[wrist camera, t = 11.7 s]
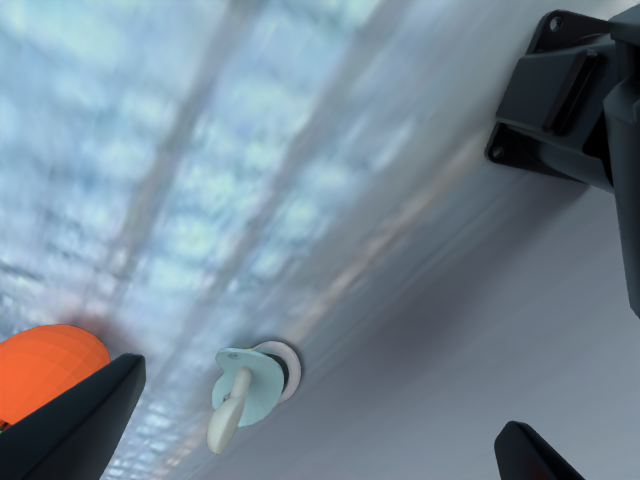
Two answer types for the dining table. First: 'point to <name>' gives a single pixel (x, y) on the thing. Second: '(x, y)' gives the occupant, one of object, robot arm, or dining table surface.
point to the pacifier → (249, 389)
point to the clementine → (44, 367)
